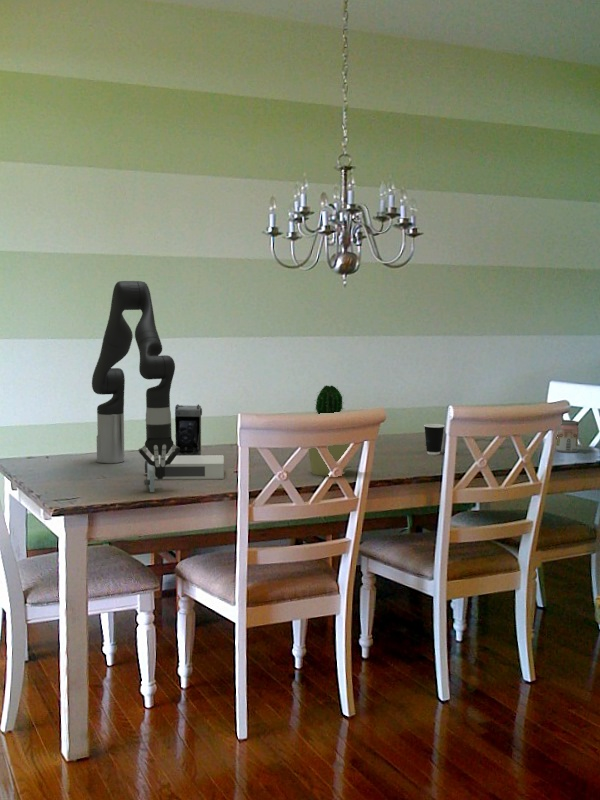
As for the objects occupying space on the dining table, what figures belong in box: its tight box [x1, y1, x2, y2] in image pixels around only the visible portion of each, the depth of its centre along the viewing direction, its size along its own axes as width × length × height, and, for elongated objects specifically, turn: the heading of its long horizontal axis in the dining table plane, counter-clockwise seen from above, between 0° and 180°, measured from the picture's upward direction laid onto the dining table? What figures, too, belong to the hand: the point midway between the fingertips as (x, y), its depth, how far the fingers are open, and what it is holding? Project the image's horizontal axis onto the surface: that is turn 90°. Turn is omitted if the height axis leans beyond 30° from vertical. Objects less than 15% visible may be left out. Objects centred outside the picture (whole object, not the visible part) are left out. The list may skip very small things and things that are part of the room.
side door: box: [143, 464, 155, 493], centre depth 266 cm, size 21×3×5 cm, turn 12°
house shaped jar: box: [555, 419, 580, 454], centre depth 340 cm, size 9×8×12 cm
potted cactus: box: [308, 384, 350, 477], centre depth 290 cm, size 15×15×30 cm
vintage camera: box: [174, 404, 203, 456], centre depth 311 cm, size 10×16×20 cm, turn 2°
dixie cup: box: [423, 423, 446, 456], centre depth 331 cm, size 8×8×11 cm
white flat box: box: [144, 454, 225, 480], centre depth 286 cm, size 26×16×5 cm, turn 95°
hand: (160, 478), depth 263 cm, fingers closed
